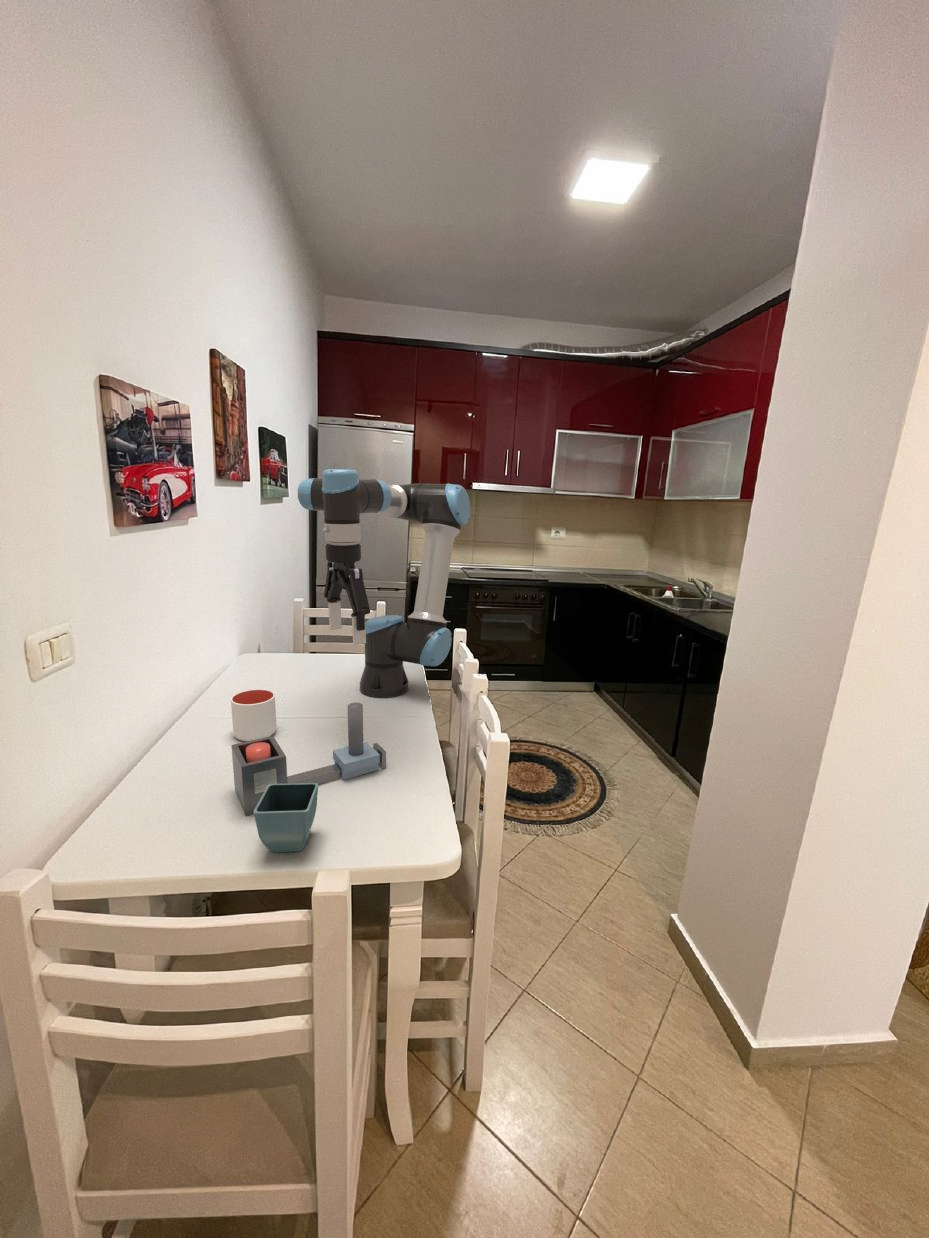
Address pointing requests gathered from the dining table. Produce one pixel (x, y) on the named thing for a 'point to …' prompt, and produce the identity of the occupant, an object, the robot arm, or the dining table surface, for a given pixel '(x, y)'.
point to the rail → (330, 771)
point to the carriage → (356, 747)
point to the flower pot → (286, 815)
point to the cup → (253, 714)
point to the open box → (257, 772)
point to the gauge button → (257, 752)
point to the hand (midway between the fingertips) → (347, 636)
